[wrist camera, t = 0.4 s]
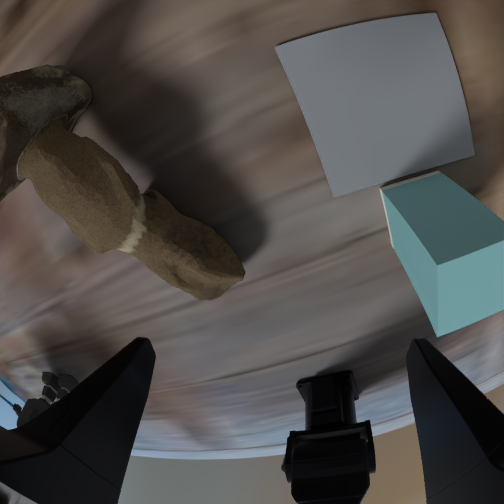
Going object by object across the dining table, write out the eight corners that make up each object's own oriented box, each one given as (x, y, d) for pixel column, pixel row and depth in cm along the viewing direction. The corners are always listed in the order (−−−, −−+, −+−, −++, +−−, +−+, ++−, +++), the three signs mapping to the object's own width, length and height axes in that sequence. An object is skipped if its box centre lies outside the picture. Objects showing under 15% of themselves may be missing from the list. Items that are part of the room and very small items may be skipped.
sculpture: (175, 189, 32) (207, 314, 25) (-13, 118, 16) (-77, 263, 8) (219, 141, 29) (273, 267, 21) (17, 42, 12) (-83, 159, 5)
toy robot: (48, 392, 46) (-3, 503, 21) (20, 362, 42) (-42, 478, 16) (121, 404, 41) (68, 557, 16) (88, 369, 37) (16, 538, 11)
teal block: (445, 227, 21) (507, 307, 12) (391, 245, 22) (437, 337, 14) (437, 170, 19) (517, 234, 10) (379, 187, 20) (437, 265, 11)
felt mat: (472, 154, 17) (475, 155, 17) (332, 195, 21) (333, 197, 20) (433, 13, 12) (435, 12, 12) (274, 47, 16) (274, 47, 15)
